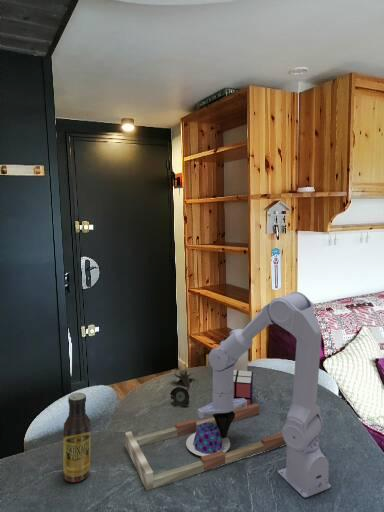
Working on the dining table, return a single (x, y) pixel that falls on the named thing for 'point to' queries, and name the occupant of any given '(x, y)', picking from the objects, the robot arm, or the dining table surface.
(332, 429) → the dining table surface
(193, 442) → the pudding
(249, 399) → the puzzle cube
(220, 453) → the track
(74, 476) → the sauce bottle
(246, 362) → the drinking glass
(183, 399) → the artificial flower
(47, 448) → the dining table surface
